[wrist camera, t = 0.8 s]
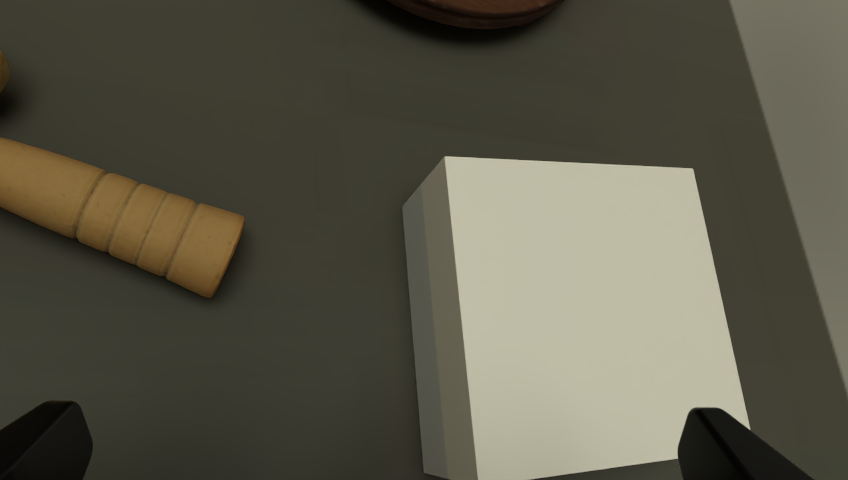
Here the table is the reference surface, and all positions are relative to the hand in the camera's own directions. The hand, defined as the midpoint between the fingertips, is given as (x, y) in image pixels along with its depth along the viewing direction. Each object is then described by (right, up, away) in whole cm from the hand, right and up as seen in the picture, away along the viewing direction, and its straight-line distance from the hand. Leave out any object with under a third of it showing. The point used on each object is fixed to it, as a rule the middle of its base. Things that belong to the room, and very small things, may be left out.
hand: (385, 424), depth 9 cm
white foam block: (+5, -1, +15) cm, 16 cm away
